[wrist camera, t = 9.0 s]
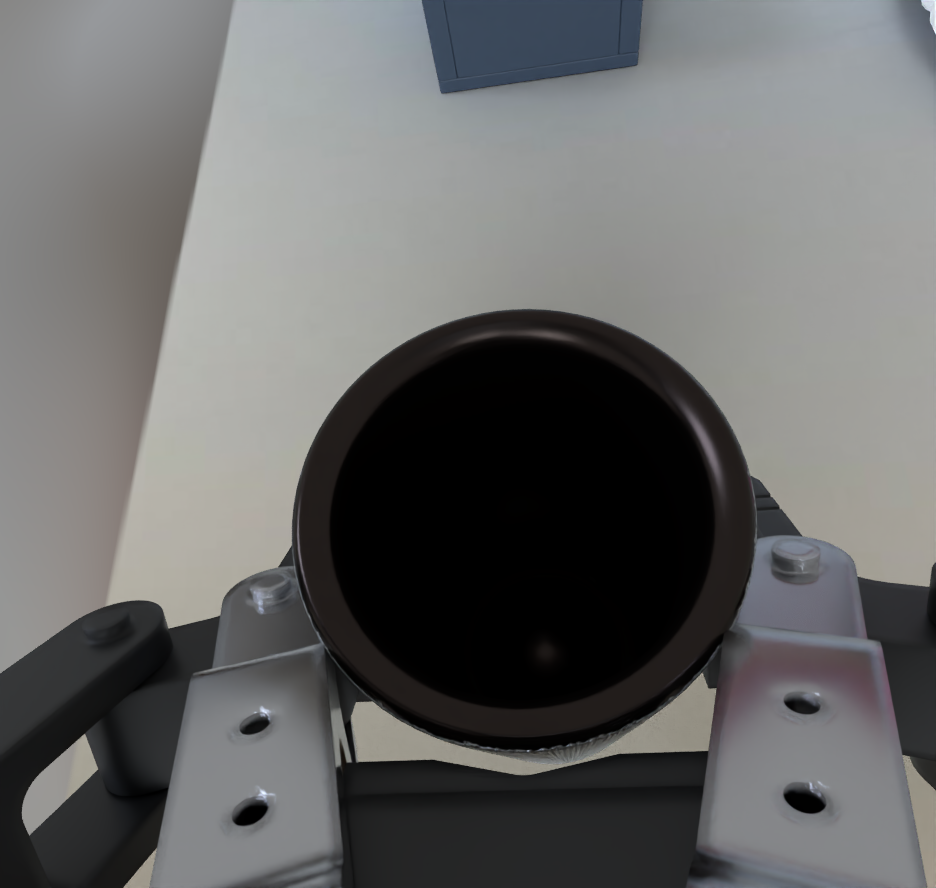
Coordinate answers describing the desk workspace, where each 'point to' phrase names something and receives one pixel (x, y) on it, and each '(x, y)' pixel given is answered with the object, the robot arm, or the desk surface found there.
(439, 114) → the desk surface
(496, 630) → the planter
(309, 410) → the desk surface
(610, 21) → the sorter
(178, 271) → the desk surface
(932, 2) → the pincushion
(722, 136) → the desk surface
